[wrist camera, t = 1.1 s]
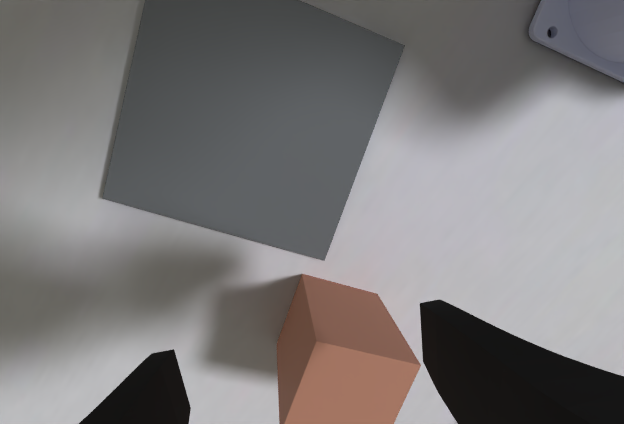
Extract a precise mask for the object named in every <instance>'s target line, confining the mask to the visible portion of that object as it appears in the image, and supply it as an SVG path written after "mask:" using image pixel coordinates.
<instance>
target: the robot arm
mask: <svg viewBox="0 0 624 424" xmlns="http://www.w3.org/2000/svg"><path fill="white" fill-rule="evenodd" d="M548 29H550V30H551V36H550V38H549V37H548V35H547V31H548ZM529 36H530V38H531V39H532V40H533V41H535V42H538V43H540V44H542V45H544V46H546V47H548V48H550V49H553V50H555V51H557V52H559V53H561V54H563V55H565V56H568V57H570V58H572V59H574V60H576V61H578V62H581V63H583V64H585V65H587V66H589V67H591V68H593V69H596V70H598V71H600V72H602V73H604V74H606V75H608V76H611V77H613V78H615V79H617V80H619V81H621V82H623V83H624V0H541V2H540V4H539V6H538V8H537V11H536V13H535V15H534V17H533V20H532V22H531V24H530V27H529ZM420 314H421V332H422V350H423V362H424V364H425V366H426V368H427V370H428V373H429V375H430V377H431V379H432V381H433V383H434V385H435V387H436V389H437V391H438V393H439V394H440V396H441V398H442V399H443V401H444V402H445V404H446V406H447V407H448V409H449V410H450V412H451V413H452V415H453V417H454V418H455V420H456V421H457V423H458V424H624V376H620V375H617V374H614V373H611V372H607V371H604V370H601V369H598V368H595V367H592V366H590V365H587V364H584V363H581V362H578V361H576V360H573V359H570V358H567V357H564V356H562V355H559V354H557V353H554V352H551V351H549V350H546V349H544V348H542V347H539V346H537V345H535V344H532V343H530V342H528V341H525V340H523V339H521V338H519V337H516V336H514V335H512V334H510V333H508V332H506V331H503V330H501V329H499V328H497V327H495V326H493V325H491V324H489V323H487V322H485V321H483V320H481V319H479V318H477V317H475V316H473V315H471V314H469V313H467V312H465V311H463V310H461V309H459V308H457V307H455V306H453V305H451V304H449V303H446V302H444V301H442V300H435V301H429V302H424V303H420ZM190 409H191V408H190V404H189V401H188V397H187V394H186V390H185V387H184V383H183V380H182V376H181V373H180V369H179V366H178V362H177V359H176V355H175V351H174V350H169V351H163V352H158V353H153V354H151V355H150V356H149V357H147V358H146V359H145V360H144V361H143V362H142V363H141V364H140V365H139V366H138V367H137V368H136V369H135V370H134V371H133V372H132V373H131V374H130V375H129V376H128V377H127V378H126V379H125V380H124V381H123V382H122V383H121V384H120V385H119V386H118V387H117V388H116V389H115V390H114V391H113V392H112V393H111V394H110V395H108V396H107V397H106V398H105V399H104V400H103V401H102V402H101V403H100V404H99V405H98V406H97V407H96V408H95V409H94V410H93V411H92V412H91V413H90V414H89V415H88V416H87V417H86V418H84V419H83V420H82V421H81V422H80V423H79V424H188V423H189V416H190Z"/></svg>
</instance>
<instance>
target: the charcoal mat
mask: <svg viewBox="0 0 624 424" xmlns="http://www.w3.org/2000/svg"><path fill="white" fill-rule="evenodd" d="M404 46H405V45H403V44H400V43H398V42H396V41H393V40H391V39H389V38H386V37H384V36H382V35H379V34H377V33H374V32H372V31H370V30H367V29H365V28H363V27H360V26H358V25H356V24H353V23H351V22H349V21H346V20H344V19H342V18H339V17H337V16H335V15H332V14H330V13H328V12H325V11H323V10H321V9H318V8H316V7H314V6H311V5H309V4H307V3H304V2H302V1H299V0H145V4H144V9H143V13H142V18H141V23H140V27H139V32H138V36H137V41H136V46H135V50H134V55H133V59H132V64H131V69H130V73H129V78H128V83H127V87H126V92H125V96H124V101H123V106H122V110H121V115H120V119H119V124H118V129H117V133H116V138H115V143H114V147H113V152H112V156H111V161H110V166H109V170H108V175H107V180H106V184H105V189H104V193H103V199H106V200H110V201H113V202H117V203H120V204H124V205H128V206H131V207H135V208H138V209H142V210H145V211H149V212H153V213H156V214H160V215H163V216H167V217H170V218H174V219H177V220H181V221H185V222H188V223H192V224H195V225H199V226H202V227H206V228H210V229H213V230H217V231H220V232H224V233H227V234H231V235H234V236H238V237H242V238H245V239H249V240H252V241H256V242H259V243H263V244H267V245H270V246H274V247H277V248H281V249H284V250H288V251H292V252H295V253H299V254H302V255H306V256H309V257H313V258H316V259H320V260H325V258H326V255H327V252H328V250H329V247H330V244H331V242H332V239H333V236H334V233H335V231H336V228H337V225H338V223H339V220H340V217H341V215H342V212H343V209H344V207H345V204H346V201H347V199H348V196H349V193H350V191H351V188H352V185H353V183H354V180H355V177H356V175H357V172H358V169H359V167H360V164H361V161H362V159H363V156H364V153H365V151H366V148H367V145H368V143H369V140H370V137H371V135H372V132H373V129H374V127H375V124H376V121H377V118H378V116H379V113H380V110H381V108H382V105H383V102H384V100H385V97H386V94H387V92H388V89H389V86H390V84H391V81H392V78H393V76H394V73H395V70H396V68H397V65H398V62H399V60H400V57H401V54H402V52H403V49H404Z"/></svg>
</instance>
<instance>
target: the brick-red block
mask: <svg viewBox="0 0 624 424" xmlns="http://www.w3.org/2000/svg"><path fill="white" fill-rule="evenodd" d="M277 366H278V394H279V421H280V424H394V422H395V419H396V417H397V415H398V413H399V411H400V409H401V407H402V405H403V402H404V400H405V398H406V396H407V394H408V392H409V390H410V388H411V385H412V383H413V381H414V379H415V377H416V375H417V373H418V371H419V368H420V366H421V365H420V363H419V361H418V360H417V358H416V356H415V355H414V353H413V352H412V350H411V348H410V347H409V345H408V343H407V342H406V340H405V338H404V337H403V335H402V334H401V332H400V330H399V329H398V327H397V325H396V324H395V322H394V320H393V319H392V317H391V316H390V314H389V312H388V311H387V309H386V307H385V306H384V304H383V302H382V301H381V299H380V298H379V296H378V294H376V293H372V292H368V291H364V290H361V289H357V288H353V287H350V286H346V285H342V284H338V283H335V282H331V281H327V280H324V279H320V278H316V277H312V276H309V275H305V274H302V275H301V278H300V281H299V284H298V286H297V289H296V292H295V295H294V298H293V300H292V303H291V306H290V309H289V311H288V314H287V317H286V320H285V322H284V325H283V328H282V331H281V333H280V336H279V339H278V342H277Z"/></svg>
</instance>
